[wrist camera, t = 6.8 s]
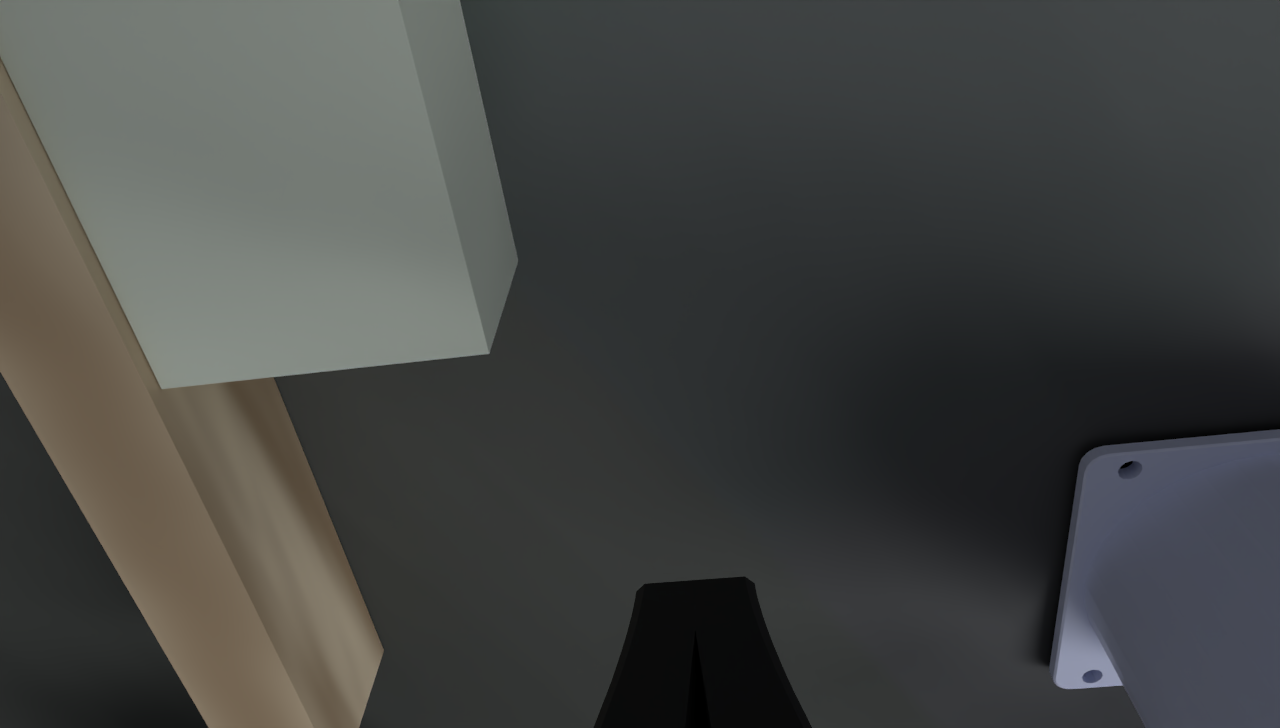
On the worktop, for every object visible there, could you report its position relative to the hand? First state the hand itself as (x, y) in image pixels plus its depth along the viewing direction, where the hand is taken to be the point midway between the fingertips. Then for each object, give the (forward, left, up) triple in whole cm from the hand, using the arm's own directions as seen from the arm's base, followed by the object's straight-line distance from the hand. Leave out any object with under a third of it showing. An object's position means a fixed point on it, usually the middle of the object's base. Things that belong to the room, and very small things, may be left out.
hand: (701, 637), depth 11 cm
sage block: (+6, -5, -10) cm, 13 cm away
